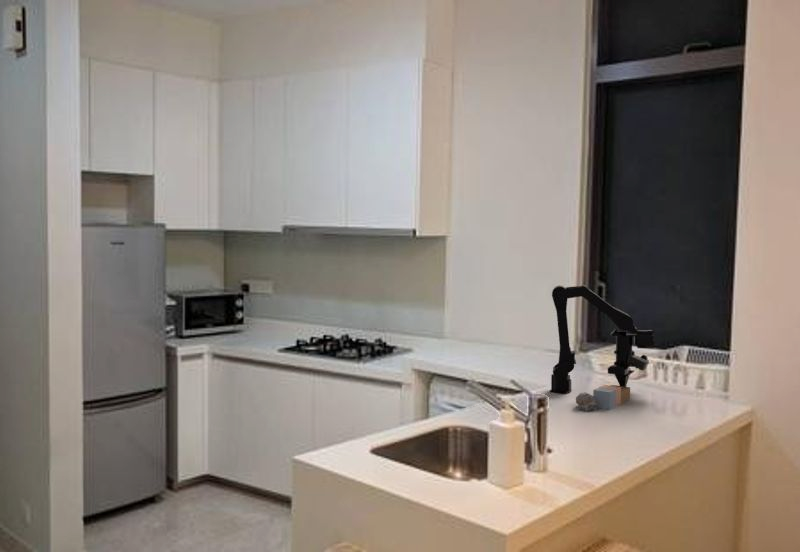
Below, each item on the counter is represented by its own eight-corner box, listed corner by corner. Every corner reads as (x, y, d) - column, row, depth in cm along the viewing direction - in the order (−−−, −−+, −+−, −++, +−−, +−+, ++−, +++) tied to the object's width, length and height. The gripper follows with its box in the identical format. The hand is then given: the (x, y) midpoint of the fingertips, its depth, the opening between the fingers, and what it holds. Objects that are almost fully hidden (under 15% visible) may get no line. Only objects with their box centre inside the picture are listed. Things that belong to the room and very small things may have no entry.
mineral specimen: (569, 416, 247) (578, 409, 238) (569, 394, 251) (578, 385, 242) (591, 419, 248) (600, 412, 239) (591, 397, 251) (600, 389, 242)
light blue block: (593, 407, 246) (593, 389, 246) (599, 404, 250) (599, 387, 250) (610, 409, 242) (610, 392, 242) (616, 407, 246) (616, 389, 246)
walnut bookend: (601, 401, 255) (601, 389, 255) (611, 397, 262) (611, 384, 262) (620, 404, 251) (620, 391, 250) (630, 399, 258) (630, 387, 257)
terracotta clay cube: (598, 404, 250) (598, 387, 250) (604, 401, 254) (604, 384, 254) (615, 406, 246) (615, 389, 246) (620, 404, 250) (621, 387, 250)
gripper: (638, 353, 252) (638, 397, 253) (653, 346, 267) (652, 388, 268) (607, 350, 258) (606, 393, 259) (623, 344, 273) (622, 384, 274)
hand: (623, 390), depth 265 cm, fingers closed
